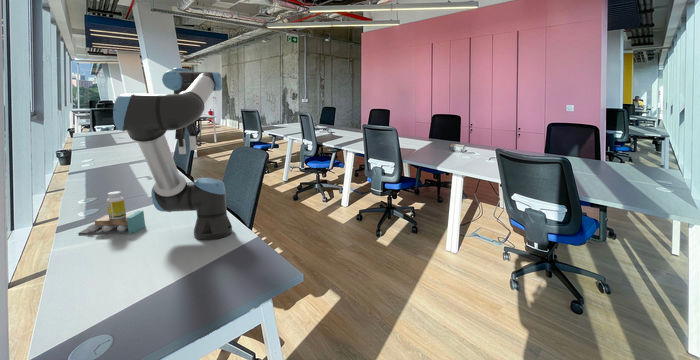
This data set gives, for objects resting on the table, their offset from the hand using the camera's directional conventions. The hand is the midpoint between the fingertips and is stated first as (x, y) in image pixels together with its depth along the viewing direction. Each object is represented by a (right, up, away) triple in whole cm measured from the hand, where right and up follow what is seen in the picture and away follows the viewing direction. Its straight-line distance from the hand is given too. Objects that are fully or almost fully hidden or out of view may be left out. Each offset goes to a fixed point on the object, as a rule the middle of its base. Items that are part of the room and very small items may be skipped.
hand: (188, 152), depth 165 cm
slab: (-26, -31, -11) cm, 42 cm away
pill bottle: (-25, -29, -11) cm, 40 cm away
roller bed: (-28, -34, -10) cm, 45 cm away
